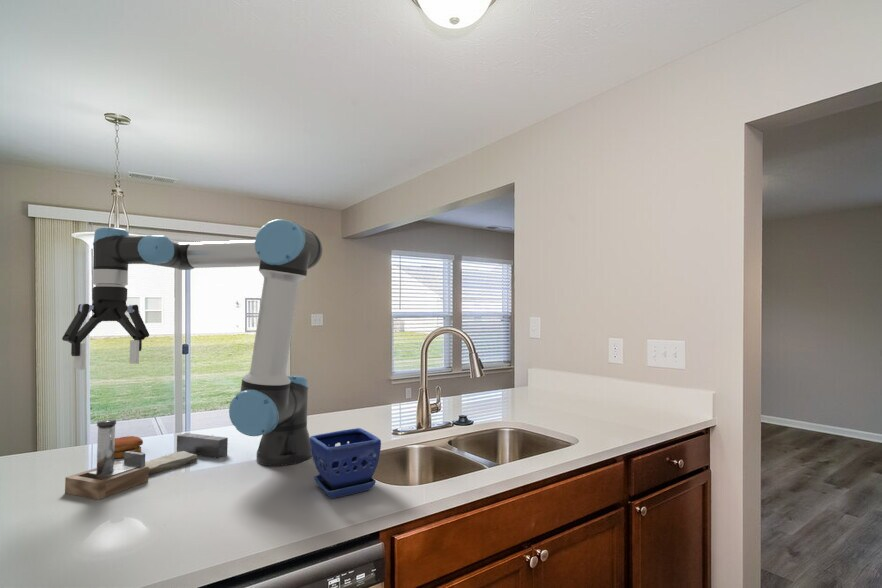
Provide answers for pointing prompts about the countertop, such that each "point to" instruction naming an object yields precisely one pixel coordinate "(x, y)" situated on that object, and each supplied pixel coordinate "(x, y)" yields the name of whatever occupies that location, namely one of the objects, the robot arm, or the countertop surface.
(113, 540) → the countertop surface
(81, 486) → the frame
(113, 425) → the ram
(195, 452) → the grey rectangular bar
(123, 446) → the burger
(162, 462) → the stone
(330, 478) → the flower pot
